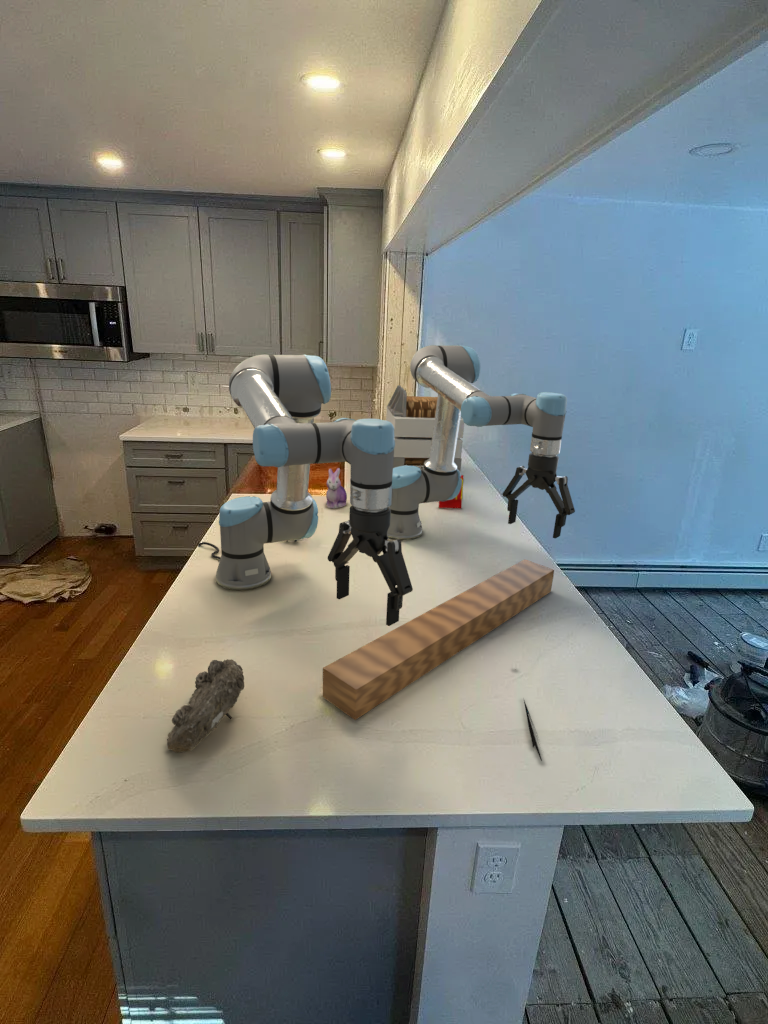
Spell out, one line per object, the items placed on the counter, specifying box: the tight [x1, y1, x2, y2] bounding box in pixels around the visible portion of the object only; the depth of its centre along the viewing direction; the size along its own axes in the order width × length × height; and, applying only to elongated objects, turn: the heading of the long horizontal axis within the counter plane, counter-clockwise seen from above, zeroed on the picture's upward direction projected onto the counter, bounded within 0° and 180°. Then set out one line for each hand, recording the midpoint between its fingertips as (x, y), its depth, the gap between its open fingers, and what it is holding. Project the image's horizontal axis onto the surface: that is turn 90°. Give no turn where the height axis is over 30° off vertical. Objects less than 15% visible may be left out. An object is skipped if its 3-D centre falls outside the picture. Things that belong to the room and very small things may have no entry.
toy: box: [438, 474, 465, 510], centre depth 239 cm, size 12×13×30 cm
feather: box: [514, 668, 543, 762], centre depth 113 cm, size 2×28×2 cm
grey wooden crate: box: [385, 384, 465, 475], centre depth 268 cm, size 34×33×41 cm
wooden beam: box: [322, 558, 555, 721], centre depth 138 cm, size 78×10×7 cm, turn 137°
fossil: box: [166, 658, 245, 754], centre depth 106 cm, size 22×10×15 cm
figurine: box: [325, 467, 348, 509], centre depth 223 cm, size 9×10×15 cm
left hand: (366, 609), depth 110 cm, fingers open, 13 cm apart
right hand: (533, 529), depth 154 cm, fingers open, 13 cm apart
